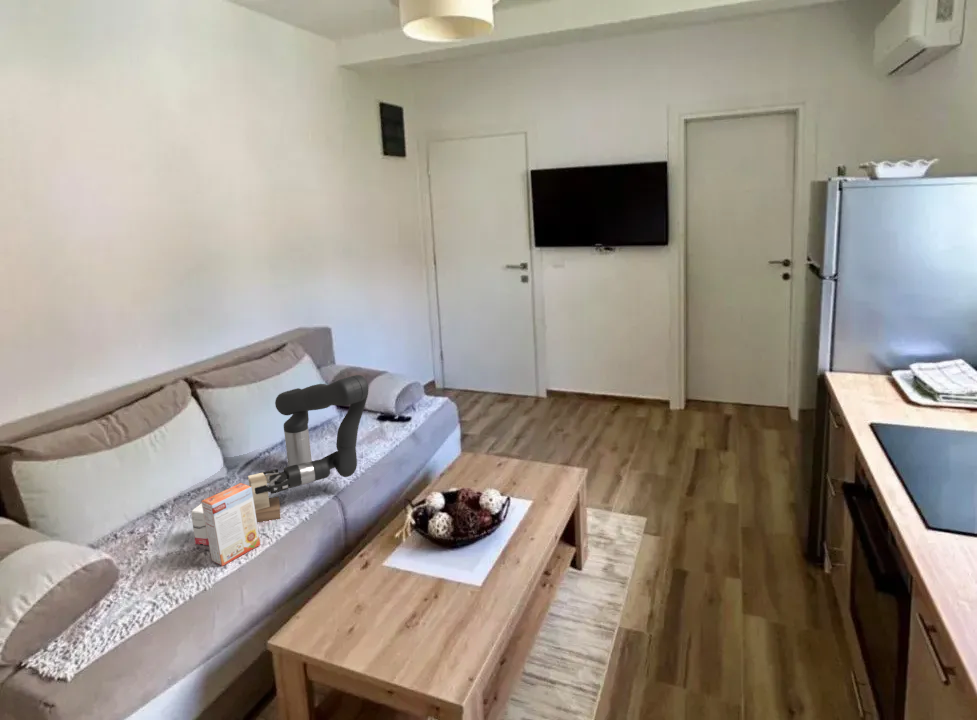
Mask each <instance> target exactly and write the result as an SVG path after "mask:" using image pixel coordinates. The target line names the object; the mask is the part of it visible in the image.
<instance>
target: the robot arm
mask: <svg viewBox="0 0 977 720" xmlns="http://www.w3.org/2000/svg"><path fill="white" fill-rule="evenodd" d="M368 396H369V384H368V381H367V379H366V378H365V377H364V376H362V375H360V374H355V375H351V376H348V377H344V378H341V379H339V380H336V381H334V382H332V383H330V384H326V383H319V384H318V383H317V384H313V385H309V386H307V387H304V388H300V387H299V388H294V389H290V390H287V391H283V392H280V393H279V394H278V395H277V396H276V398H275V402H274V404H275V409H276V410H277V411H278V412H279V414H280V415H283V416H290V417H289V418H288V419H287V420H286V421H284V423H283V434H284V442H285V449H286V456H287V459H286V460H287V465H288V466H284V468H283V471H280V472H279V468H274V469H271V470H266V471H261V472H260V473H262V472H263V473H264V475H265V477H266V480H267V486H266V485H264V486H260V487H256V488H255V493H256V494H260V493H264V492H268V493H270V495H274V494H277V493H281V492H285V491H288V490H289V489H291V488H296V487H299V486H302V485H306V484H309V483H313V482H315V481H318V480H319V481H320V480H324V479H326V478H329V476H330V474H331V470H332V469H335V470H336V472H337V473H338V475H339V476H341V477H344V478H349V477H351V476H352V475H354V473H355V472H356V470H357V466H358V457H357V449H356V446H357V440H358V431H359V426H360V423H361V419H362V416H363V413H364V410H365V406H366V402H367V400H368ZM331 406H343V407H344V406H349V408H348V410H347V412H346V414H345V416H344V417H343V419H342V420H341V422H340V424H339V427H338V429H337V433H336V443H335V445H336V450H337V451H336V450H335V451H334V452H332V453H330V454H328V455H325V456H324V457H322V458H321V459H315V460H313V459H312V452H311V451H312V449H311V441H310V433H309V432H310V431H309V419H310V418H309V411H318V410H324V409H328V408H330V407H331Z"/></svg>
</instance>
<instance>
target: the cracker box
mask: <svg viewBox="0 0 977 720" xmlns="http://www.w3.org/2000/svg"><path fill="white" fill-rule="evenodd" d="M201 503H202V508H203V513H204V519H205V525H206V530H207V536H208V541H209V545H208V547H209V553H210V557H211V561H212V562H213V561H214V563H215V562H216V563H215V564H218V565H220V566H222V567H223V566H225V565H228V564H229V563H231V562H233V561H235V560H237V559H238V558H239V557H241V556H243V555H245V554H247V553H249V552H250V551H252V550H254V549H255V548H257V547H259V546H261V541H260V534H259V527H258V523H257V519H256V513H255V506H254V500H253V493H252V487H251V486H249V484H245V483H242V482H239V483H237V484H236V485H233V486H231V487H229V488H226V489H224V490H223V491H220V492H218V493H216V494H213V495H211V496H208V497H207V498H205V499H204V498H203V499H202V500H201Z"/></svg>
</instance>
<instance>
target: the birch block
mask: <svg viewBox="0 0 977 720" xmlns="http://www.w3.org/2000/svg"><path fill="white" fill-rule="evenodd" d="M261 472H262V473H261ZM261 472H260V473H255V474H250V475H247V478H248V479H247V480H248V486H251V487H252V493H253V500H254V506H255V510H259V509H263V508H267V507H270V504H269V498H270V497H269V492H264V493H260V494H256V493H255V488H256V487H260V486H264V485H266V486H267V485H268V483H267V480H266V477H265V475H264V473H263V472H264V471H261Z"/></svg>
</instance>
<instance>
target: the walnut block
mask: <svg viewBox="0 0 977 720" xmlns="http://www.w3.org/2000/svg"><path fill="white" fill-rule="evenodd" d="M269 504H270V507H267V508H263V509H259V510H255V513H256V519H257V522H259V523H264V522H263V521H265V522H270V521H269V520H271V521H277V520H281V503H280V497H279V496H274V497H269ZM276 519H277V520H276Z"/></svg>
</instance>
